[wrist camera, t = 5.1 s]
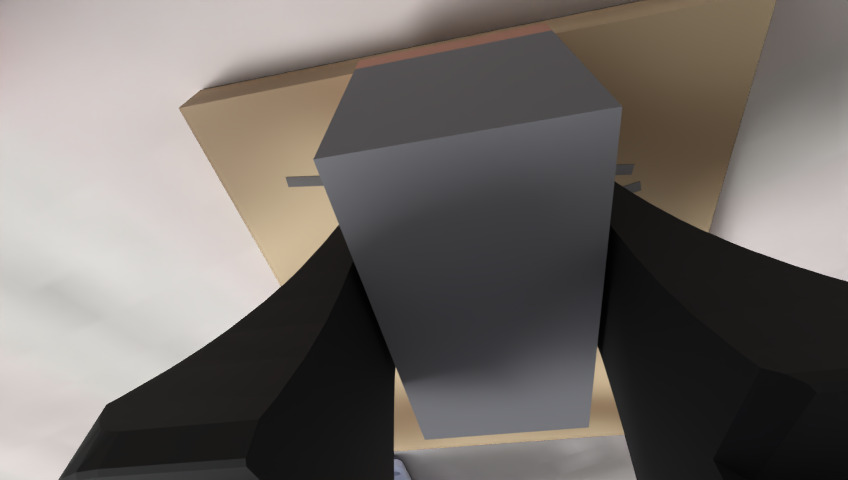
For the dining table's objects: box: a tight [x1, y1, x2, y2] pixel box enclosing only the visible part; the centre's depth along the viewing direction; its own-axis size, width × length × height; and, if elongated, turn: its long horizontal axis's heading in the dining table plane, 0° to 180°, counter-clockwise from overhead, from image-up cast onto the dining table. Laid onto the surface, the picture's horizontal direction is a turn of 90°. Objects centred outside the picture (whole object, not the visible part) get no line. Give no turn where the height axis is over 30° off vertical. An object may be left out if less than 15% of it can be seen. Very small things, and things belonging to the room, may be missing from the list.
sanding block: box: [313, 23, 622, 440], centre depth 10 cm, size 8×4×4 cm, turn 11°
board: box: [179, 0, 776, 451], centre depth 15 cm, size 18×13×1 cm
